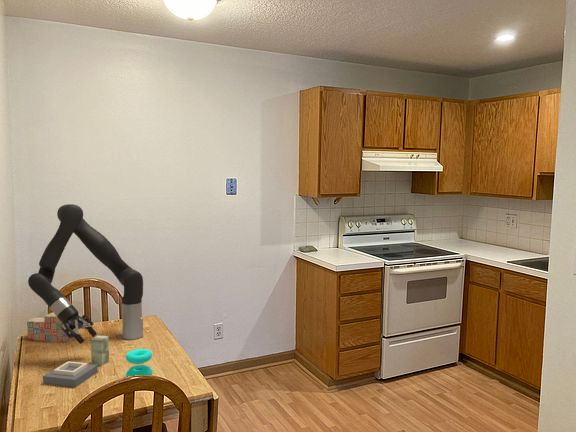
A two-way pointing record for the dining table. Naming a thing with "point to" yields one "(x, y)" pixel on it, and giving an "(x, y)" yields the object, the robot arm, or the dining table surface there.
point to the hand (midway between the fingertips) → (89, 338)
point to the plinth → (70, 374)
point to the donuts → (139, 362)
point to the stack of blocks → (47, 329)
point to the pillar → (100, 350)
